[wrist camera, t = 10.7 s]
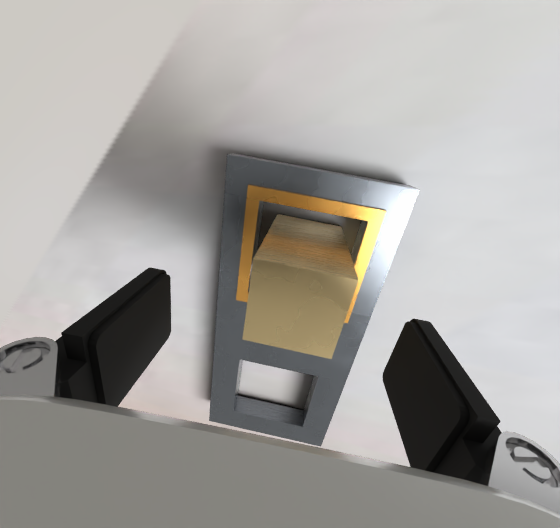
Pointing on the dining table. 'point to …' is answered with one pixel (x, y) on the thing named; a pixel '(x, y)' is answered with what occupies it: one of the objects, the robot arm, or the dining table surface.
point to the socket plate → (237, 274)
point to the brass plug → (300, 287)
